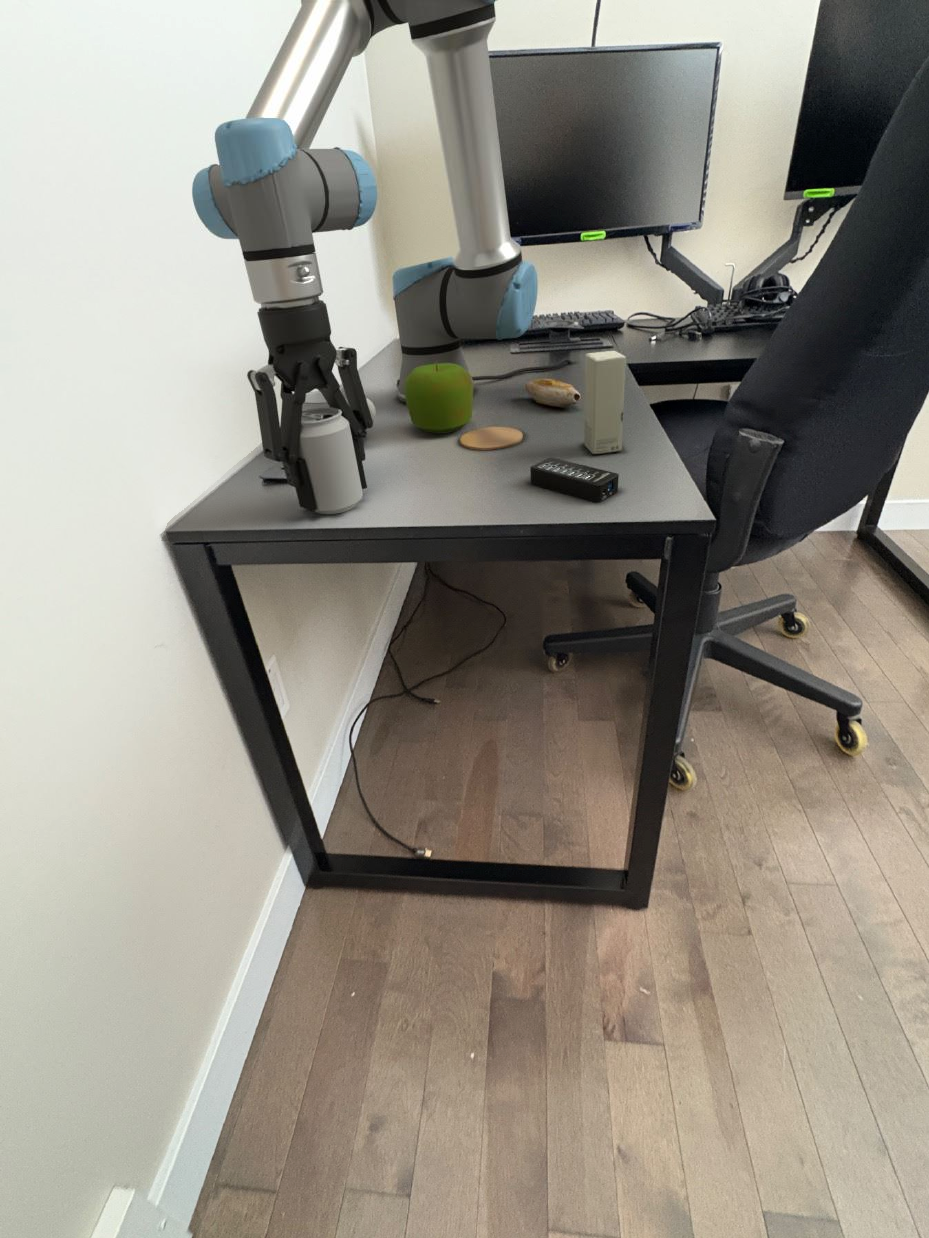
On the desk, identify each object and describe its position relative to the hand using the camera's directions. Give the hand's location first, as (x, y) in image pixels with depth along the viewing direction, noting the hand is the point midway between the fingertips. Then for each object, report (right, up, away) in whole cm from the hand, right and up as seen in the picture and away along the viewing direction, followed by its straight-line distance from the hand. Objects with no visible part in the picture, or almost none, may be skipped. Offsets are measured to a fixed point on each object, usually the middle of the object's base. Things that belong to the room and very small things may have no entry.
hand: (334, 496), depth 79 cm
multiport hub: (+31, +1, -1) cm, 31 cm away
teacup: (-3, +13, +22) cm, 26 cm away
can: (0, -1, +1) cm, 1 cm away
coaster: (+21, +13, +17) cm, 30 cm away
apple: (+13, +16, +24) cm, 32 cm away
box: (+37, +9, +9) cm, 39 cm away
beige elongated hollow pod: (+33, +23, +30) cm, 50 cm away
